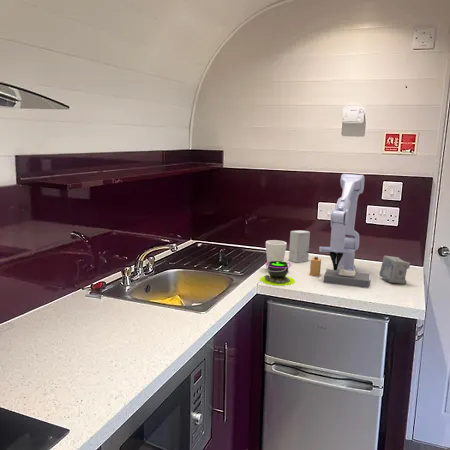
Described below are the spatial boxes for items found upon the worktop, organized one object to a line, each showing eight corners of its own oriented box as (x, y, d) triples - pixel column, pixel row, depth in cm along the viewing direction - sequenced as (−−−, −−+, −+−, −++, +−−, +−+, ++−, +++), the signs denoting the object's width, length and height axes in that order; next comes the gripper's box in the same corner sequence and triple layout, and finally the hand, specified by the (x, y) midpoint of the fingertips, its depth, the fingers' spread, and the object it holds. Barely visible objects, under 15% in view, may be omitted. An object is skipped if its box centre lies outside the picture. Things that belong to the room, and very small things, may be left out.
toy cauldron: (252, 279, 199) (253, 254, 197) (276, 273, 208) (278, 249, 206) (277, 288, 188) (279, 261, 186) (302, 282, 197) (304, 256, 195)
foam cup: (271, 266, 219) (272, 239, 217) (288, 270, 214) (290, 242, 212) (260, 270, 212) (261, 242, 209) (278, 274, 206) (280, 245, 204)
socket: (326, 275, 207) (327, 268, 207) (368, 280, 202) (369, 273, 201) (323, 282, 197) (323, 275, 196) (368, 287, 191) (368, 280, 191)
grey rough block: (408, 284, 198) (411, 260, 196) (390, 285, 196) (393, 261, 194) (395, 277, 207) (397, 254, 206) (378, 278, 206) (380, 255, 204)
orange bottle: (311, 272, 211) (312, 255, 209) (320, 273, 210) (321, 256, 208) (309, 275, 207) (310, 257, 206) (318, 276, 206) (320, 258, 204)
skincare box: (296, 263, 226) (298, 233, 224) (288, 260, 231) (289, 230, 229) (308, 260, 231) (310, 231, 229) (300, 258, 236) (302, 229, 233)
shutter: (339, 270, 203) (340, 264, 202) (355, 272, 201) (356, 266, 200) (338, 275, 197) (338, 268, 196) (354, 276, 195) (355, 270, 194)
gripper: (319, 238, 196) (316, 270, 199) (354, 242, 192) (352, 274, 194) (321, 235, 203) (319, 265, 205) (355, 238, 198) (353, 269, 201)
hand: (335, 269), depth 200 cm, fingers closed
